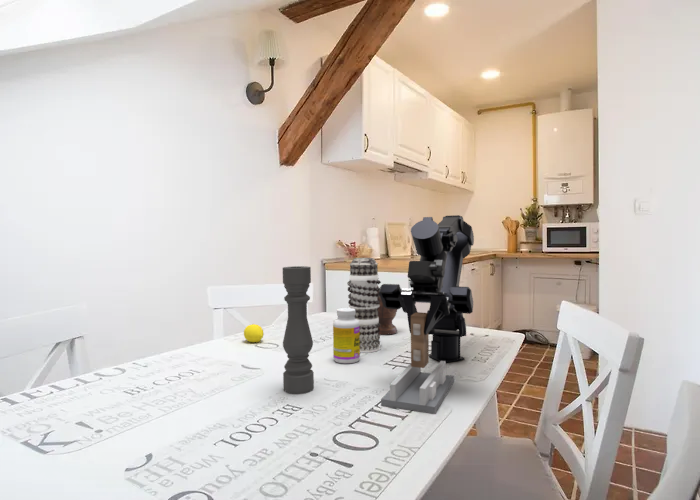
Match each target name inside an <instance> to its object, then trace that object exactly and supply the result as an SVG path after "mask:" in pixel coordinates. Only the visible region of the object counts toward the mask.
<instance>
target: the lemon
mask: <svg viewBox="0 0 700 500" xmlns="http://www.w3.org/2000/svg"><path fill="white" fill-rule="evenodd" d="M264 335H265V333H264V329H263V328H262V327H261V326H260V325H259V324H254V323H252V324H249V325H247V326H246V327H245V328H244V330H243V336H244V339H245V340H246V341H247V342H249V343H253V344H254V342H256V343H258V342H261V340H262V339H263V338H264Z"/></svg>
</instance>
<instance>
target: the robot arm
mask: <svg viewBox="0 0 700 500" xmlns="http://www.w3.org/2000/svg"><path fill="white" fill-rule="evenodd" d="M410 233H411V237H412V240H413V245H414V248H415V251H416V254H417V255H418V256H420V258H419V260H409V262H408V269H407V270H408V271H407V278H408V279H410V281H409V286H410V287H409V288H401V285H400V284H399V283H396V284H395V283H383V284H382V285H380V286H379V288H380V289H379V296H380V298H381V300H382V303H383V305H384V307H385V308H387V309H397V310H400V309H401V310H402V312H403V313H405V314H407V322H408V330H409V334H411V315H413V314H414V313H416V312H418V310H417V309H418V308H417V305H416V303H419V304H420V303H421V304H422V303H423V304H429V308H428V309H427V312H426V313H428V315H427V319H426V322H425V327H424V334H425V335H427V334H428V336H430V335H432V340H431V341H430V343H431V345H430V348H431V351H430V353H429V358H431V359H434V360H436V361H438V362H440V361H446V364H447V363H451V362H459V361H464V360H465V357H464V356H461V338H463V337H466V336H467V325H466V319H465V317H464V314H469V315H470V314H472V313H473V310H474V298H473V294H472V292H473V291H472V289H471V288H470V287H469V286H460V283H461V282H460V281H461V274H462V268H463V261H464V259H466V258H467V257H468V255H470V253H471V250H472V246H474V243H475V242H474V241H475V236H474V231H473V227H472V225H470V224H469V223H467V222H466V221H465V220H464V218H463V215H462V216H461V215H460V214H459V215H458V214H456V215H445V216H443V217H442V220H441V221H440V222H436V221H435V220H434V218H433V216H425V217H422V220H420V221H418V222H416V223H415V224H413V226H411V228H410Z"/></svg>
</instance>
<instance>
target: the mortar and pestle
mask: <svg viewBox="0 0 700 500" xmlns="http://www.w3.org/2000/svg"><path fill="white" fill-rule="evenodd" d="M377 287H378V288H380V286H379V285H378V284H377ZM378 293H379V292H378V291H377V294H378ZM377 301H379V302H380V304H379V305H380V306H379V307H378V317H379V322H378V323H379V324H380V326H379V327H378V328H379V329H380V332H379V333H378V334H379V335H380V336H381V335H383V336H384V335H386V336H387V335H393V334H397V333H398V330H397V326H396V325H394V324H393V320H394V319H395V317H396V316H397V312H398V309H387V308H385V307H384V305H383V303H382V300H381V298H380V296H379V297H377Z"/></svg>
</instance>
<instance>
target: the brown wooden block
mask: <svg viewBox="0 0 700 500" xmlns="http://www.w3.org/2000/svg"><path fill="white" fill-rule="evenodd" d="M427 315H428V313H427V312H422V311H421V312H420V311H417V312H416V313H414V314H413V315H411V333H410V364H411V367H418V368H421V369H424V368H425V367H426V366H427V365H428V364H429V362H430V361H429V358H430V357H429V355H430V353H429V352H430V351H429V348H430V347H429V346H430V345H429V337H430V336H429V335H428V334H427V335H425V334H424V327H425V322H426V319H427Z"/></svg>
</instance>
